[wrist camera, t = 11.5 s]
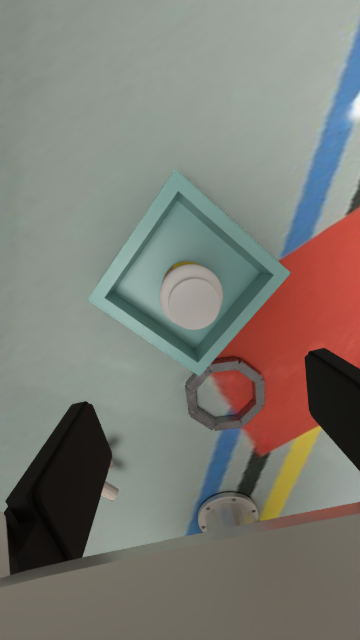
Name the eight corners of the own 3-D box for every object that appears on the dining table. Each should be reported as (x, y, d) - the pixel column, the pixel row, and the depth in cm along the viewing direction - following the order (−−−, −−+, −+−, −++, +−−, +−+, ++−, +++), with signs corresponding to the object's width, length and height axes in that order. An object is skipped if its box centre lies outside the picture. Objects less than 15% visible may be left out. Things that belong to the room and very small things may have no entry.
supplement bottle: (168, 255, 31) (167, 256, 18) (214, 267, 31) (242, 276, 19) (157, 301, 32) (149, 331, 20) (201, 311, 33) (219, 346, 21)
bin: (271, 269, 33) (290, 273, 27) (195, 358, 36) (199, 376, 31) (174, 184, 29) (175, 168, 24) (100, 292, 33) (87, 299, 27)
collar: (276, 385, 38) (280, 390, 37) (227, 434, 41) (229, 441, 40) (220, 343, 36) (222, 347, 34) (171, 399, 38) (171, 404, 37)
